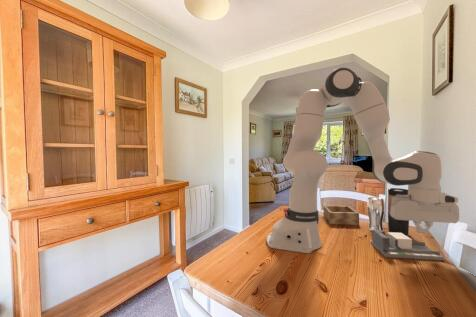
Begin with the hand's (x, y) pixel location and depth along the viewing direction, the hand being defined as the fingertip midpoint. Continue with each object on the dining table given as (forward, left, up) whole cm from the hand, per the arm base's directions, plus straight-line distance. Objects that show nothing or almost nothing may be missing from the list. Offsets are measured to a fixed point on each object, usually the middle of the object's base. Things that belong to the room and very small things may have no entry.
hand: (422, 232), depth 75 cm
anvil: (-14, +1, -6) cm, 15 cm away
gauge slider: (-8, -1, -6) cm, 10 cm away
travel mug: (+2, +19, -8) cm, 20 cm away
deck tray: (-18, +35, -7) cm, 39 cm away
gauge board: (-6, +1, -7) cm, 9 cm away
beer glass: (-6, +22, -8) cm, 24 cm away
